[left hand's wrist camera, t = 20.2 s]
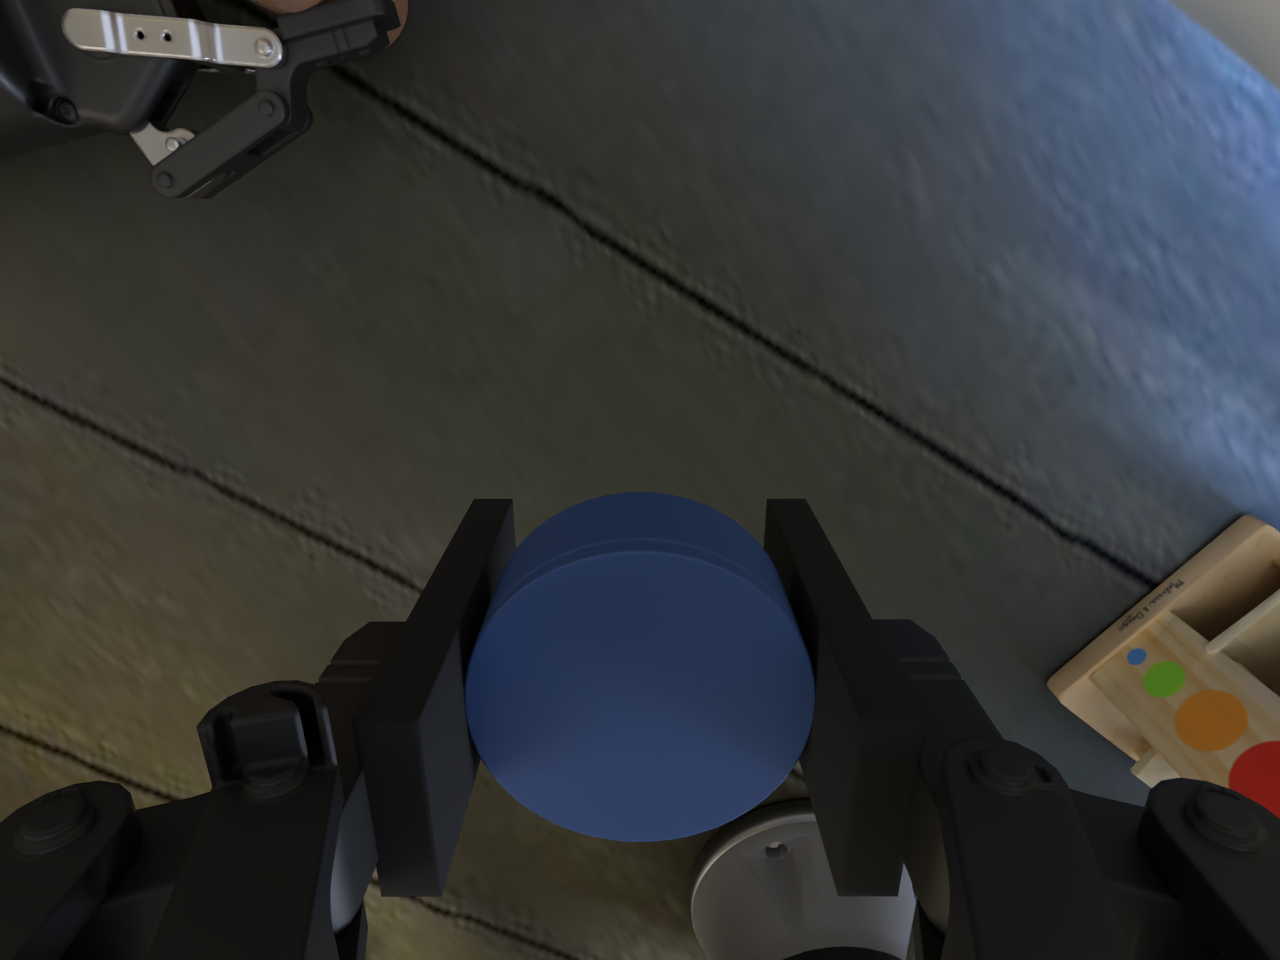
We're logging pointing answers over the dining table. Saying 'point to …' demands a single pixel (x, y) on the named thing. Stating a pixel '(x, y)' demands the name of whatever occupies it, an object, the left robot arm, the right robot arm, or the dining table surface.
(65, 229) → the dining table surface
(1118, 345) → the dining table surface
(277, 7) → the jar
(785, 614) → the lid
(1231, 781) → the pounding bench toy
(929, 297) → the dining table surface
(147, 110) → the right robot arm
